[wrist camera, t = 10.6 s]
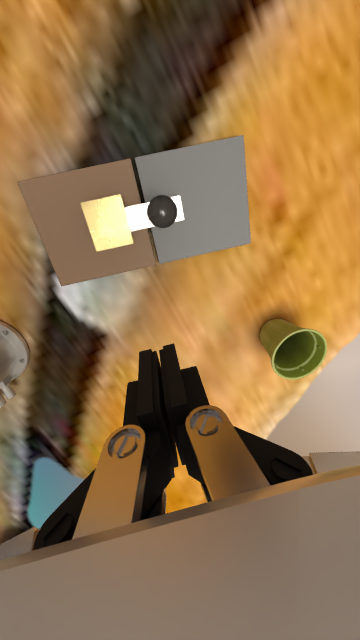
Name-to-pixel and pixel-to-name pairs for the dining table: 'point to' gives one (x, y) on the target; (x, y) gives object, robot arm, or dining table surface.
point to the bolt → (155, 213)
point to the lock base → (156, 179)
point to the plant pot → (293, 348)
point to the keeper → (108, 222)
